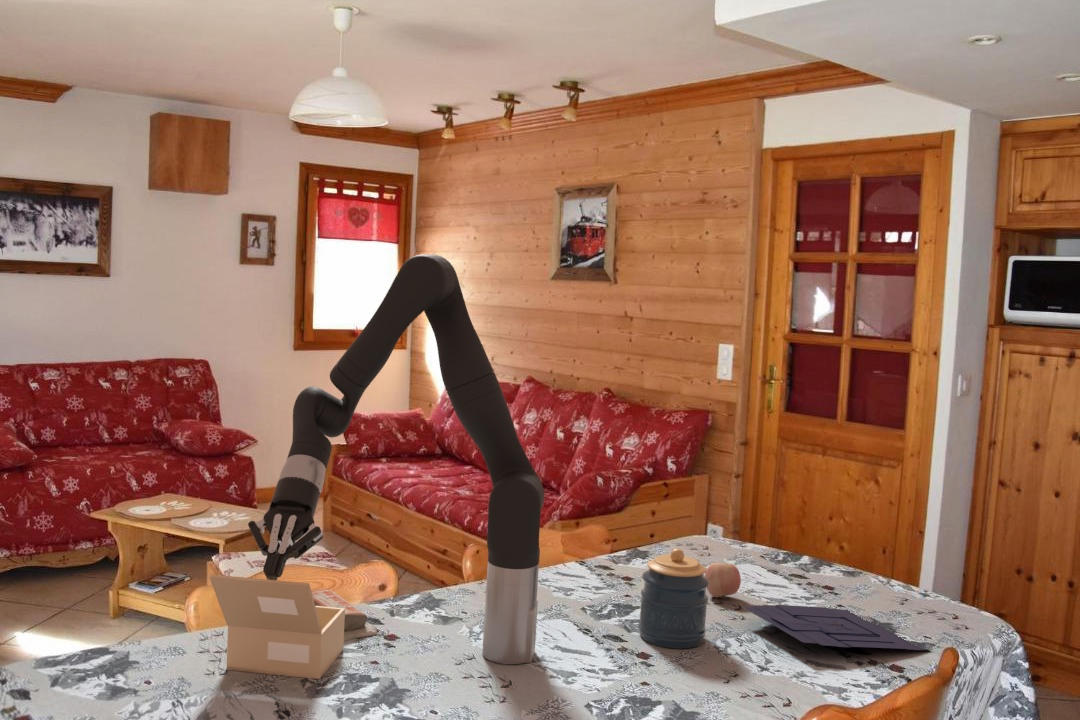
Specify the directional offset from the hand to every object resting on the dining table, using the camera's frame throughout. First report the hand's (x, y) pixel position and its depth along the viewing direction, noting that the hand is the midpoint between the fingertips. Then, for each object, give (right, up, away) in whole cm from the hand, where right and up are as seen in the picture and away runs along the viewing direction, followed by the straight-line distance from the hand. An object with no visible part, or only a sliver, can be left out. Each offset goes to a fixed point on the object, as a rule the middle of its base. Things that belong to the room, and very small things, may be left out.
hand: (271, 577), depth 158 cm
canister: (+69, -19, +33) cm, 79 cm away
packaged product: (+4, -16, +30) cm, 34 cm away
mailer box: (0, -17, +11) cm, 20 cm away
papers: (+102, -21, +39) cm, 111 cm away
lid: (-1, -4, 0) cm, 4 cm away
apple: (+84, -18, +60) cm, 104 cm away
